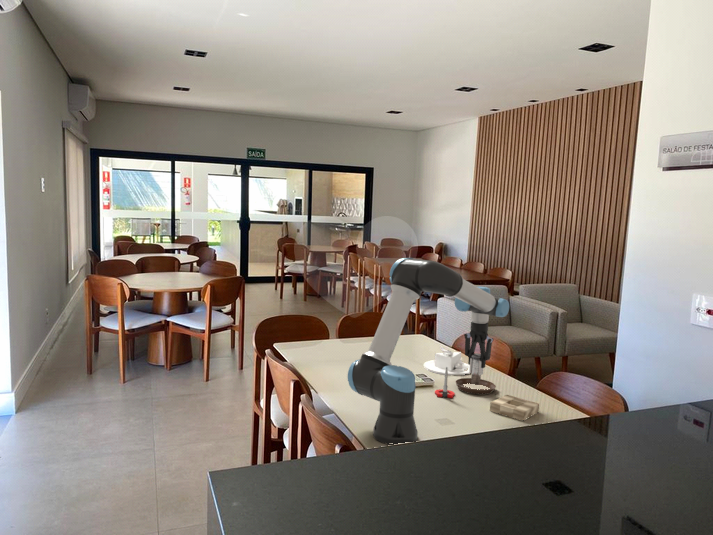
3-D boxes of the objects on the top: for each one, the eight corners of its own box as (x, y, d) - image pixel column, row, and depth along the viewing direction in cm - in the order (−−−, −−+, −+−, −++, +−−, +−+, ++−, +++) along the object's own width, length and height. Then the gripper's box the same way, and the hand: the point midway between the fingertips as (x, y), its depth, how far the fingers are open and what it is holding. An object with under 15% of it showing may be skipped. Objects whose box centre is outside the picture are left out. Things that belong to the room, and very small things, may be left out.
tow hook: (434, 391, 235) (434, 397, 226) (436, 362, 234) (436, 366, 225) (454, 393, 234) (454, 399, 225) (456, 363, 233) (456, 368, 224)
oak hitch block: (523, 421, 203) (523, 412, 203) (489, 410, 212) (490, 402, 212) (538, 412, 213) (539, 403, 213) (506, 402, 223) (506, 394, 222)
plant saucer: (466, 381, 251) (467, 375, 251) (502, 390, 240) (502, 383, 240) (447, 389, 238) (448, 383, 237) (484, 399, 227) (485, 392, 226)
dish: (451, 379, 253) (453, 356, 252) (413, 366, 272) (414, 344, 271) (483, 371, 269) (485, 349, 268) (445, 359, 288) (447, 339, 287)
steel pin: (477, 385, 235) (479, 357, 234) (467, 383, 239) (469, 354, 237) (483, 383, 239) (485, 355, 238) (473, 380, 243) (475, 352, 241)
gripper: (501, 323, 233) (497, 376, 235) (467, 317, 244) (463, 367, 247) (493, 326, 228) (489, 379, 230) (458, 319, 239) (455, 370, 241)
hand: (476, 373), depth 238 cm, fingers closed on steel pin, 4 cm apart
